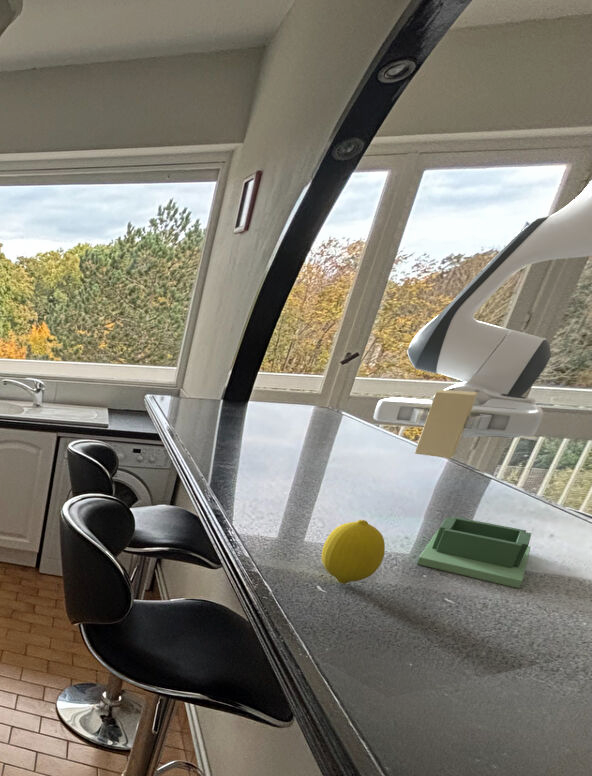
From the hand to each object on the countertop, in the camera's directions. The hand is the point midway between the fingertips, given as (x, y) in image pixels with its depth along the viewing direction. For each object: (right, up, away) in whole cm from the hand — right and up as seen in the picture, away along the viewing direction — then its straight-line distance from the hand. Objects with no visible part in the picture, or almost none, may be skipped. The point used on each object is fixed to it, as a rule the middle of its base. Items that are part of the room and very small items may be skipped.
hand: (446, 421), depth 94 cm
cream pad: (+1, -5, +3) cm, 6 cm away
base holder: (-14, -22, -18) cm, 31 cm away
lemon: (-37, -24, -25) cm, 50 cm away
